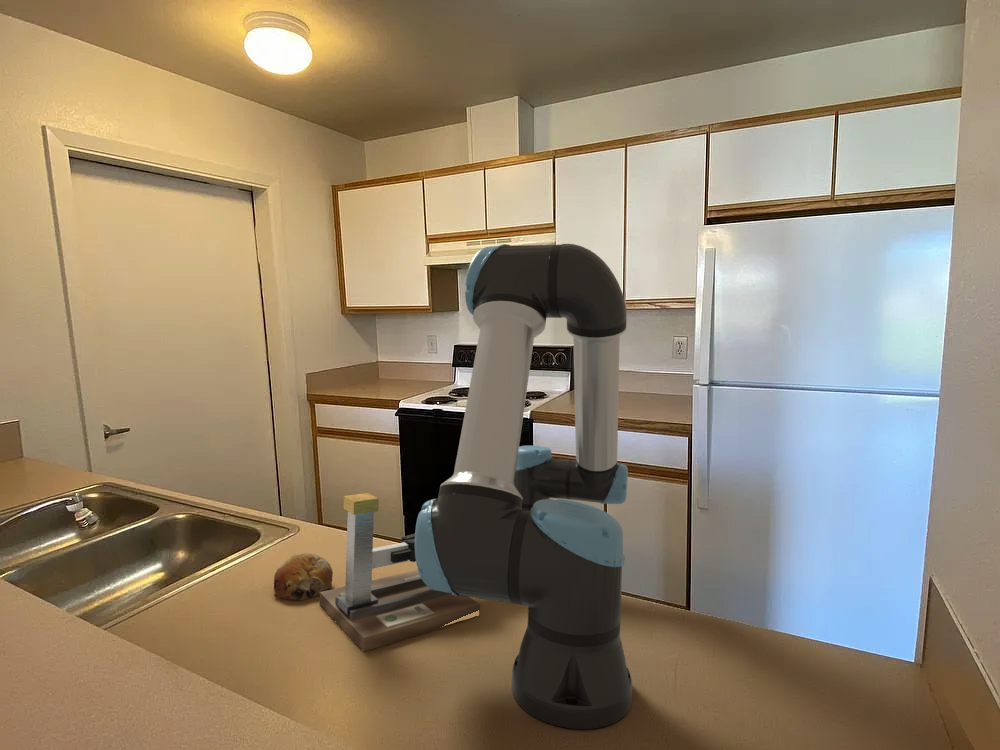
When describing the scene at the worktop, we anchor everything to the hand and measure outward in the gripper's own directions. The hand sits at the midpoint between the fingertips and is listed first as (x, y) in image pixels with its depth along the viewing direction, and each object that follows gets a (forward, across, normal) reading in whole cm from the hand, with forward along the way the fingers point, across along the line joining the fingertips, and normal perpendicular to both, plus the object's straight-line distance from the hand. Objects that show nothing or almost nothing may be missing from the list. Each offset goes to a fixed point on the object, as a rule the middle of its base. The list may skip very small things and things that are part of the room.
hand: (369, 559), depth 87 cm
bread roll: (+5, +16, -10) cm, 20 cm away
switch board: (-5, 0, -10) cm, 11 cm away
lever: (+2, 0, -7) cm, 7 cm away
